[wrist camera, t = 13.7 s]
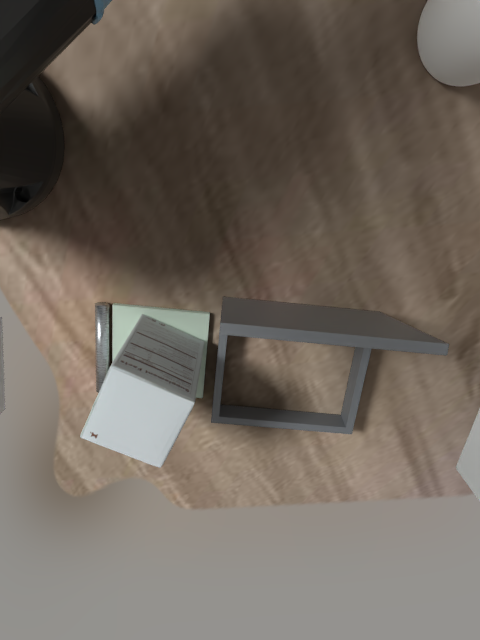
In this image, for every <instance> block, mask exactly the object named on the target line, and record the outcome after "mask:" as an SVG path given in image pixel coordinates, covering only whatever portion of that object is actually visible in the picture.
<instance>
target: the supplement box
mask: <svg viewBox="0 0 480 640" xmlns="http://www.w3.org/2000/svg"><path fill="white" fill-rule="evenodd" d="M204 343H205V342H204V341H203V340H200V339H198V338H196V337H194V336H192V335H189V334H187V333H185V332H183V331H180V330H178V329H176V328H174V327H172V326H169V325H167V324H165V323H163V322H160V321H158V320H156V319H153V318H151V317H149V316H147V315H144V314H142V315H141V316H140V318H139V320H138V321H137V323H136V325H135V327H134V328H133V330H132V331H131V333H130V335H129V336H128V338H127V339H126V341H125V343H124V344H123V346H122V347H121V349H120V351H119V352H118V354H117V355H116V357H115V359H114V361H113V362H112V364H111V366H110V368H109V370H108V373H107V375H106V377H105V380H104V382H103V384H102V387H101V389H100V391H99V394H98V396H97V398H96V400H95V402H94V405H93V407H92V410H91V412H90V415H89V417H88V419H87V421H86V424H85V426H84V428H83V431H82V433H81V435H80V437H81V438H83V439H86V440H88V441H90V442H93V443H95V444H98V445H101V446H103V447H106V448H108V449H111V450H114V451H116V452H119V453H122V454H124V455H127V456H129V457H132V458H135V459H137V460H140V461H143V462H145V463H148V464H150V465H153V466H156V467H159V468H160V467H162V465H163V463H164V462H165V460H166V458H167V456H168V454H169V452H170V451H171V449H172V447H173V445H174V443H175V441H176V439H177V437H178V435H179V433H180V431H181V429H182V428H183V426H184V424H185V422H186V420H187V418H188V416H189V414H190V412H191V410H192V408H193V406H194V404H195V399H196V393H197V386H198V381H199V375H200V369H201V363H202V357H203V350H204Z"/></svg>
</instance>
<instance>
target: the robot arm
mask: <svg viewBox="0 0 480 640" xmlns="http://www.w3.org/2000/svg"><path fill="white" fill-rule="evenodd" d="M111 1H112V0H0V220H2V219H6V218H10V217H14V216H18V215H20V214H23V213H25V212H27V211H29V210H31V209H33V208H34V207H36V206H37V205H38V204H39V203H41V202H42V201H43V200H44V199H45V198H46V197H47V195H48V194H49V193H50V192H51V190H52V189H53V187H54V185H55V183H56V181H57V179H58V177H59V174H60V171H61V168H62V163H63V157H64V135H63V128H62V123H61V119H60V116H59V113H58V110H57V107H56V105H55V103H54V100H53V98H52V96H51V94H50V93H49V91H48V89H47V88H46V86H45V85H44V83H43V82H42V80H41V79H40V78H39V75H40V74H41V73H42V72H43V71H44V70H45V69H46V68H47V67H48V66H49V65H50V64H51V63H52V62H53V61H54V60H55V59H56V58H57V57H58V56H59V55H60V54H61V53H62V52H63V51H64V50H65V49H66V48H67V47H68V46H69V44H70V43H71V42H72V41H73V40H74V39H75V38H76V37H77V36H78V35H79V34H80V33H81V32H82V31H83V30H84V29H85V28H86V27H87V26H88V25H89V24H90V23H92V24H94V25H95V24H97V23H98V22H99V21H100V20H101V18H102V17H103V13H104V9H105V8H106V7H107V5H108V4H109V3H110V2H111ZM4 391H5V390H4V361H3V332H2V317H0V414H1V413H2V412H3V411H4V410H5V393H4ZM456 469H457V471H458V472H459V473H460V475H461V476H462V478H463V479H464V480H465V482H466V483H467V484H468V486H469V487H470V489H471V490H472V491H473V493H474V494H475V496H476V497H477V498H478V500H479V501H480V409H479V412H478V414H477V416H476V419H475V421H474V424H473V426H472V429H471V431H470V434H469V436H468V439H467V441H466V443H465V446H464V448H463V451H462V453H461V456H460V458H459V461H458V463H457V466H456Z"/></svg>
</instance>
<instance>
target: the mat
mask: <svg viewBox="0 0 480 640" xmlns="http://www.w3.org/2000/svg"><path fill="white" fill-rule="evenodd" d="M142 314H144V315H147V316H149V317H151V318H153V319H156V320H158V321H160V322H163V323H165V324H167V325H169V326H172V327H174V328H176V329H178V330H180V331H183V332H185V333H187V334H189V335H192V336H194V337H196V338H198V339H200V340H203V341H204V342H205V343H204V350H203V357H202V363H201V369H200V375H199V381H198V386H197V393H196V398H203V390H204V378H205V366H206V354H207V342H208V331H209V319H210V312H202V311H192V310H181V309H171V308H160V307H150V306H139V305H129V304H118V303H114V304H113V305H112V362H113V361H114V359H115V357H116V355H117V354H118V352H119V351H120V349H121V347H122V346H123V344H124V343H125V341H126V339H127V338H128V336H129V335H130V333H131V331H132V330H133V328H134V327H135V325H136V323H137V321H138V320H139V318H140V316H141V315H142Z"/></svg>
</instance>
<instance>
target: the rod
mask: <svg viewBox="0 0 480 640" xmlns="http://www.w3.org/2000/svg"><path fill="white" fill-rule="evenodd" d="M95 337H96V391H97V392H98V393H99V391H100V389H101V387H102V384H103V382H104V380H105V377H106V375H107V373H108V370H109V368H110V343H109V303H106V302H98V303H95Z"/></svg>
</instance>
